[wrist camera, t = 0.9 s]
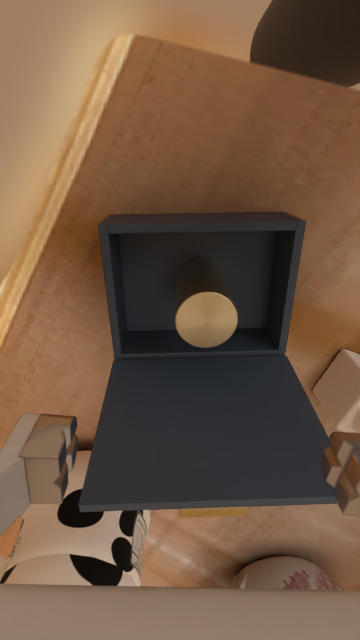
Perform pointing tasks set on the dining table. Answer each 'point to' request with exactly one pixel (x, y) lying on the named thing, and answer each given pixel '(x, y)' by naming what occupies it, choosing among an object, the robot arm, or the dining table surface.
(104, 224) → the chest
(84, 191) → the dining table surface
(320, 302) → the dining table surface
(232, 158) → the dining table surface
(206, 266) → the tin
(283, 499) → the lid
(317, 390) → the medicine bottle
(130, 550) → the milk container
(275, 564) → the milk jug
